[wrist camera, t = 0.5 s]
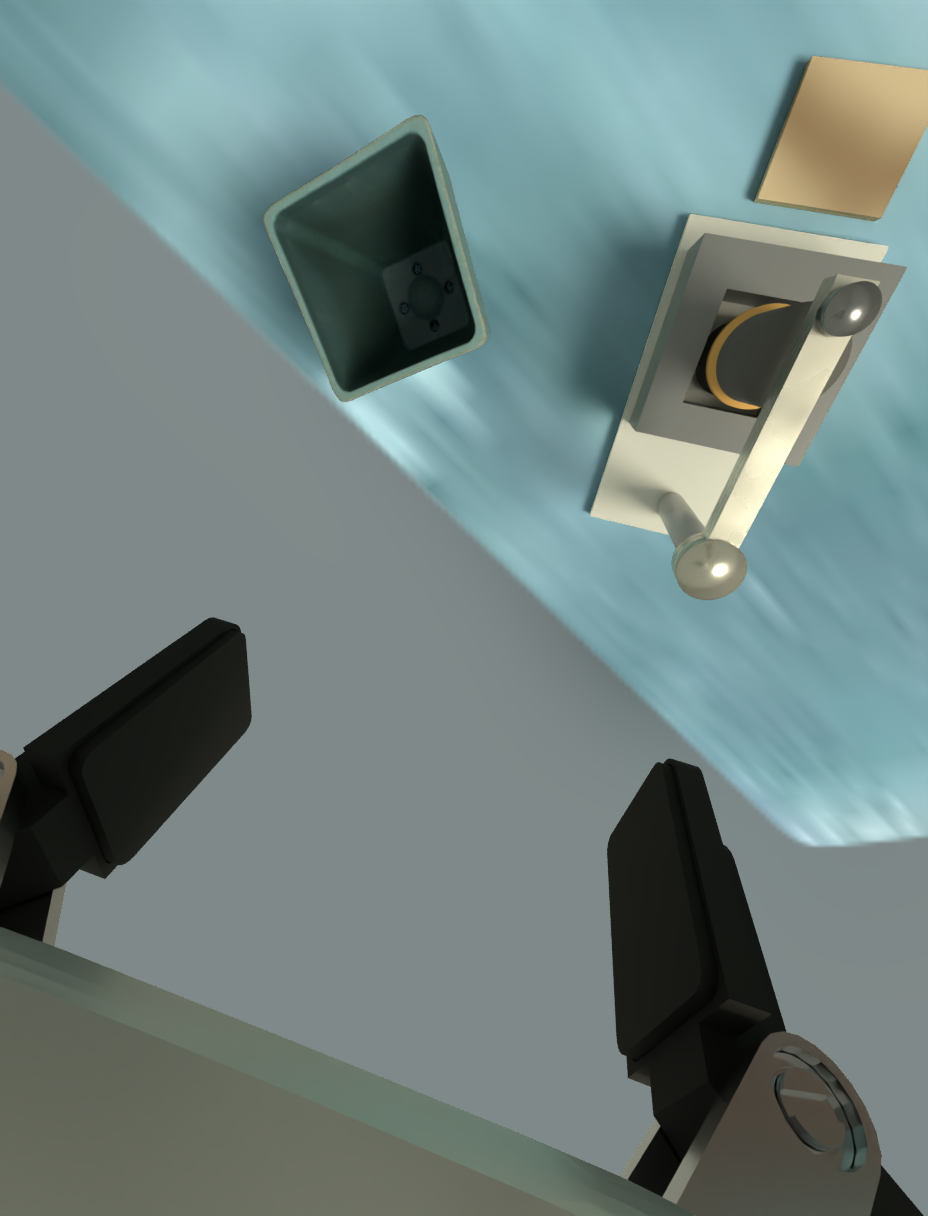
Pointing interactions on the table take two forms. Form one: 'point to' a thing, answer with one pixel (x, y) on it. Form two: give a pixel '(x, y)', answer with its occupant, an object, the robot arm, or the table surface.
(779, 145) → the cork mat
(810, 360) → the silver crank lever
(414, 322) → the flower pot
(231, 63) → the table surface
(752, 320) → the plug
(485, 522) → the table surface
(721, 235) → the socket plate
